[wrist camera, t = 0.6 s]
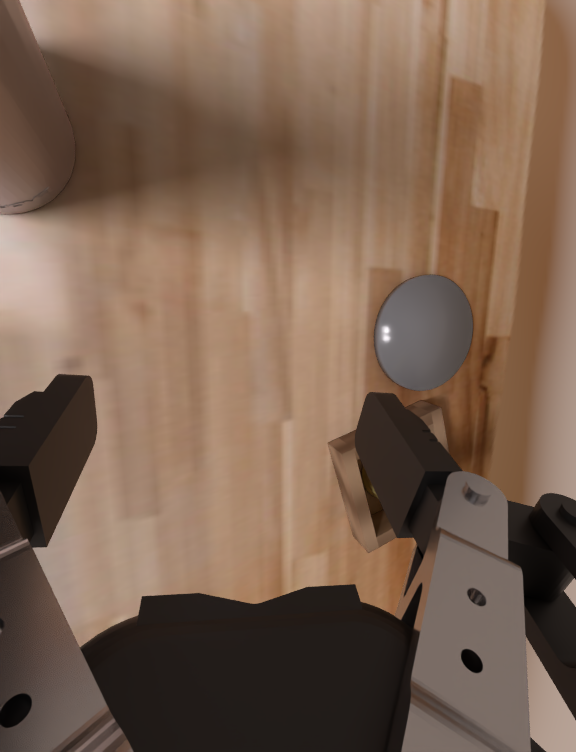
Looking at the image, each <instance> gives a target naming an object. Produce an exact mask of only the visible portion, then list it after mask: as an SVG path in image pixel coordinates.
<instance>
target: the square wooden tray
mask: <svg viewBox="0 0 576 752" xmlns="http://www.w3.org/2000/svg"><path fill="white" fill-rule="evenodd" d="M405 409H408V410H410V411H411V412H413V413H414V414H415V415H417V416H418V417H420V418H421V419H422V420H423V421H424V422H425V424H426V425H427V426H428V428H429V429H430V430H431V433H433V434H434V435H435V436H436V438H437V439H438V442H440V443H441V444H442V445H443V447H444V448H445V449H446V450H447V452H448V453H449V449H448V444H447V438H446V432H445V426H444V420H443V415H442V409H441V407H439V406H436V405H433V404H430V403H427V402H425V401H422V400H421V401H419V402H416V403H414V404H412V405H410V406H408V407H405ZM355 433H356V430H355V431H353V432H350V433H348V434H346V435H344V436H342V437H339V438H337V439H335V440H333V441H331V442H328V447H329V450H330V454H331V457H332V461H333V465H334V468H335V472H336V475H337V479H338V483H339V486H340V490H341V494H342V497H343V501H344V504H345V508H346V512H347V515H348V519H349V522H350V526H351V530H352V533H353V536H354V538H355V539H356V540H357V541H358V542H359V543H360V544H361V546H362V547H363V548H364V549H365V550H366V551H367V552H368V553H370V552H372V551H374V550H375V549H377V548H379V547H381V546H382V545H384V544H386V543H388V542H389V541H391V540H393V539H395V538H396V535H395V533H394V531H393V529H392V527H391V524H390V522H389V520H388V518H387V516H386V514H385V512H384V509H383V510H381V511H379V512H377V513H376V514H374V515H372V516H371V514H370V510H369V506H368V503H367V499H366V495H365V491H364V487H363V483H362V479H361V475H360V471H359V467H358V463H357V460H359V459H360V458H359V456H358V454H357V451H356V448H355Z"/></svg>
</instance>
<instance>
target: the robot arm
mask: <svg viewBox="0 0 576 752" xmlns="http://www.w3.org/2000/svg"><path fill="white" fill-rule="evenodd" d="M74 163H75V140H74V134H73V129H72V126H71V123H70V121H69V118H68V116H67V113H66V111H65V109H64V106H63V104H62V101H61V99H60V96H59V94H58V92H57V89H56V86H55V84H54V81H53V79H52V77H51V74H50V72H49V70H48V67H47V65H46V62H45V60H44V58H43V55H42V53H41V51H40V48H39V46H38V44H37V41H36V39H35V36H34V34H33V32H32V29H31V27H30V25H29V22H28V20H27V18H26V15H25V13H24V10H23V8H22V6H21V3H20V1H19V0H0V214H15V213H24V212H27V211H31V210H34V209H37V208H40V207H42V206H43V205H45V204H46V203H48V202H50V201H51V200H53V199H54V198H55V197H56V196H57V195H58V194H59V193H60V192H61V191H62V190H63V189H64V187H65V185H66V184H67V182H68V180H69V178H70V177H71V174H72V170H73V166H74ZM96 435H97V417H96V407H95V398H94V389H93V382H92V378H91V377H90V376H84V375H66V374H58V375H57V376H56V377H55V378H54V379H53V381H52V382H51V383H50V384H49V386H48V387H47V388H46V389H45V391H44V392H37V391H34V392H32V393H30V394H29V395H27V396H25V397H23V398H22V399H20V400H18V401H16V402H15V403H14V404H13V405H12V406H11V408H10V409H9V410H8V411H7V412H6V413H5V414H4V418H1V419H0V752H546V751H545V750H543V749H542V748H541V747H540V746H539V745H538V744H537V743H536V742H535V741H534V740H533V739H532V738H531V737H530V723H529V703H528V702H529V701H528V680H527V658H526V637H527V638H528V640H529V642H530V644H531V645H532V647H533V649H534V650H535V652H536V654H537V656H538V657H539V659H540V661H541V662H542V664H543V666H544V667H545V669H546V671H547V672H548V674H549V676H550V677H551V679H552V681H553V683H554V684H555V686H556V688H557V689H558V691H559V693H560V694H561V696H562V698H563V699H564V701H565V703H566V704H567V706H568V708H569V710H570V711H571V712H572V714H573V716H574V718H575V720H576V607H575V606H574V604H573V603H572V602H571V600H570V599H569V597H568V596H567V595H566V593H565V592H564V590H565V589H566V587H567V586H568V585H569V584H570V582H571V581H572V580H573V579H574V578H575V579H576V501H575V500H573V499H571V498H568V497H566V496H563V495H559V494H554V493H549V494H544V495H542V496H541V498H540V499H539V501H538V502H537V504H536V505H535V507H532V506H527V505H523V504H520V503H515V502H511V501H508V500H506V498H505V496H504V494H503V493H502V492H501V491H500V490H499V489H498V488H497V487H496V486H495V485H494V484H493V483H491V482H490V481H488V480H487V479H485V478H483V477H481V476H479V475H476V474H473V473H470V472H464V471H462V470H461V468H460V467H459V466H458V465H457V463H456V462H455V461H454V459H453V458H452V457H451V456H450V454H449V453H448V452H447V450H446V449H445V448H444V447H443V445H442V444H441V443H440V442H438V439H437V438H436V436H435V435H434V434H433V433H431V430H430V429H429V428H428V426H427V425H426V424H425V422H424V421H423V420H422V419H421V418H420V417H418V416H417V415H415V414H414V413H413V412H411V411H410V410H408V409H405V407H404V406H403V405H402V403H401V402H400V401H399V399H398V398H397V397H396V395H395V394H393V393H378V392H370V393H368V394H367V396H366V398H365V402H364V405H363V408H362V412H361V415H360V419H359V422H358V425H357V429H356V433H355V448H356V451H357V454H358V456H359V458H360V460H361V462H362V464H363V466H364V469H365V471H366V473H367V475H368V477H369V479H370V481H371V484H372V486H373V488H374V490H375V492H376V494H377V497H378V499H379V501H380V503H381V505H382V507H383V509H384V512H385V514H386V516H387V518H388V520H389V522H390V524H391V527H392V529H393V531H394V533H395V535H396V537H397V538H414V539H415V541H416V543H417V544H416V546H415V548H414V550H413V553H412V556H411V560H410V564H409V567H408V571H407V575H406V578H405V582H404V585H403V589H402V593H401V596H400V600H399V603H398V607H397V610H396V613H395V616H394V615H392V614H390V613H389V612H386V611H384V610H382V609H380V608H378V607H375V606H372V605H370V604H367V603H363V602H360V598H359V595H358V592H357V589H356V586H355V584H353V585H335V586H318V587H306V588H303V589H300V590H297V591H294V592H291V593H289V594H286V595H283V596H280V597H277V598H274V599H271V600H268V601H265V602H262V603H259V604H250V603H245V602H240V601H235V600H230V599H225V598H220V597H215V596H210V595H206V594H201V593H193V594H176V595H158V596H142V599H141V605H140V610H139V615H138V616H136V617H133V618H130V619H127V620H125V621H123V622H121V623H118V624H116V625H114V626H112V627H110V628H108V629H107V630H105V631H103V632H102V633H100V634H98V635H97V636H95V637H94V638H92V639H91V640H90V641H88V642H87V643H85V644H84V645H83V646H81V647H79V645H78V643H77V641H76V639H75V637H74V635H73V633H72V630H71V628H70V626H69V624H68V622H67V620H66V618H65V616H64V614H63V612H62V609H61V607H60V605H59V603H58V601H57V599H56V597H55V595H54V593H53V591H52V588H51V586H50V584H49V582H48V580H47V578H46V576H45V574H44V572H43V570H42V567H41V565H40V563H39V561H38V559H37V557H36V555H35V553H34V551H33V549H32V548H33V547H47V546H48V543H49V541H50V539H51V537H52V535H53V533H54V530H55V528H56V526H57V524H58V522H59V520H60V518H61V515H62V513H63V511H64V509H65V507H66V505H67V502H68V500H69V498H70V496H71V494H72V492H73V489H74V487H75V485H76V483H77V481H78V479H79V476H80V474H81V472H82V470H83V468H84V466H85V463H86V461H87V459H88V457H89V455H90V453H91V451H92V448H93V446H94V444H95V440H96ZM525 635H526V636H525Z"/></svg>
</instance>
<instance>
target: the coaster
mask: <svg viewBox="0 0 576 752" xmlns="http://www.w3.org/2000/svg"><path fill="white" fill-rule="evenodd" d="M472 333H473V319H472V313H471V308H470V305H469V302H468V300H467V298H466V296H465V295H464V293H463V291H462V290H461V289H460V288H459V287H458V286H457V285H456V284H455V283H454V282H452V281H451V280H449V279H447V278H445V277H442V276H438V275H423V276H417V277H413V278H410V279H408V280H406V281H404V282H403V283H401V284H400V285H398V286H397V287H396V288H395V289H394V290H393V291H392V292H391V293H390V294H389V295H388V297H387V298H386V300H385V301H384V303H383V305H382V306H381V309H380V311H379V313H378V316H377V320H376V324H375V329H374V347H375V353H376V357H377V360H378V362H379V365H380V367H381V368H382V370H383V372H384V373H385V374H386V375H387V377H388V378H389V379H391V380H392V381H393V382H394V383H396V384H397V385H400V386H402V387H405V388H408V389H411V390H417V391H424V390H430V389H433V388H436V387H438V386H440V385H442V384H444V383H445V382H446V381H448V380H449V379H450V378H451V377H452V376H453V375H454V374H455V373H456V372H457V371H458V369H459V368H460V367H461V365H462V364H463V362H464V360H465V358H466V356H467V353H468V351H469V348H470V344H471V340H472Z"/></svg>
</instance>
